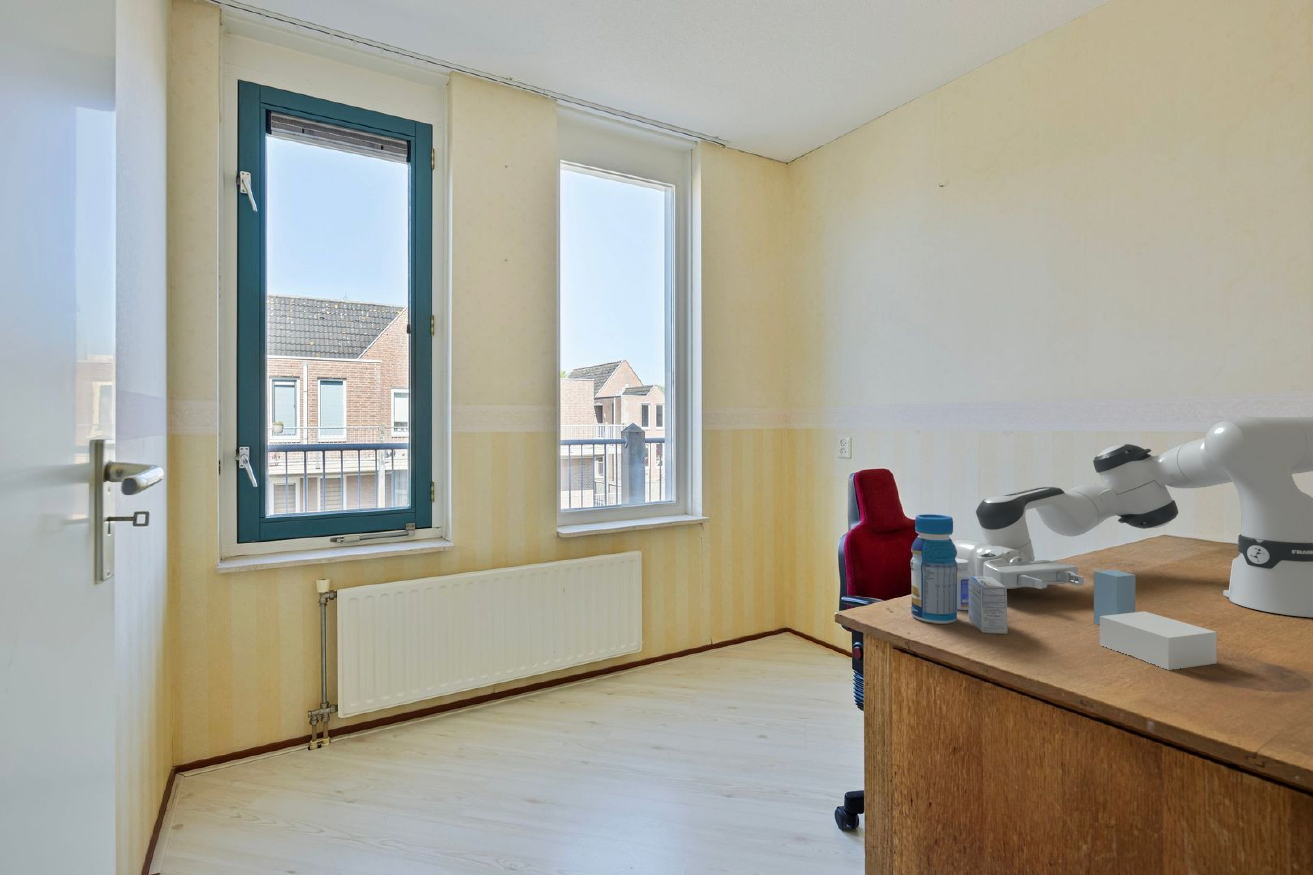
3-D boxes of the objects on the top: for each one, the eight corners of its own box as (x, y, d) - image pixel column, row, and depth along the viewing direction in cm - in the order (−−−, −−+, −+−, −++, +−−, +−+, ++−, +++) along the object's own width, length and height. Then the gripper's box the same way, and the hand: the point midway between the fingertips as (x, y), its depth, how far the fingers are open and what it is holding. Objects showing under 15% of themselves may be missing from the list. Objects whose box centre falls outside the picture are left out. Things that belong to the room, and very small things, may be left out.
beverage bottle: (941, 628, 113) (941, 521, 112) (901, 616, 120) (901, 515, 120) (966, 619, 117) (967, 517, 117) (927, 609, 125) (927, 512, 124)
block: (1111, 621, 116) (1112, 569, 116) (1135, 628, 112) (1135, 574, 112) (1093, 623, 115) (1094, 571, 115) (1116, 631, 111) (1116, 576, 110)
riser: (1144, 639, 106) (1144, 611, 106) (1216, 663, 95) (1216, 631, 95) (1099, 645, 104) (1099, 616, 103) (1168, 670, 93) (1168, 637, 93)
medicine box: (1007, 634, 109) (1008, 587, 109) (980, 633, 110) (981, 586, 110) (992, 621, 117) (992, 576, 117) (967, 619, 118) (967, 575, 118)
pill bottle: (972, 604, 127) (972, 558, 127) (973, 611, 122) (973, 564, 122) (943, 601, 130) (943, 556, 129) (943, 608, 125) (943, 561, 125)
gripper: (1044, 578, 139) (1102, 594, 126) (970, 584, 134) (1022, 602, 121) (1045, 551, 139) (1102, 564, 126) (970, 556, 134) (1022, 571, 121)
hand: (1062, 583), depth 123 cm, fingers open, 8 cm apart
